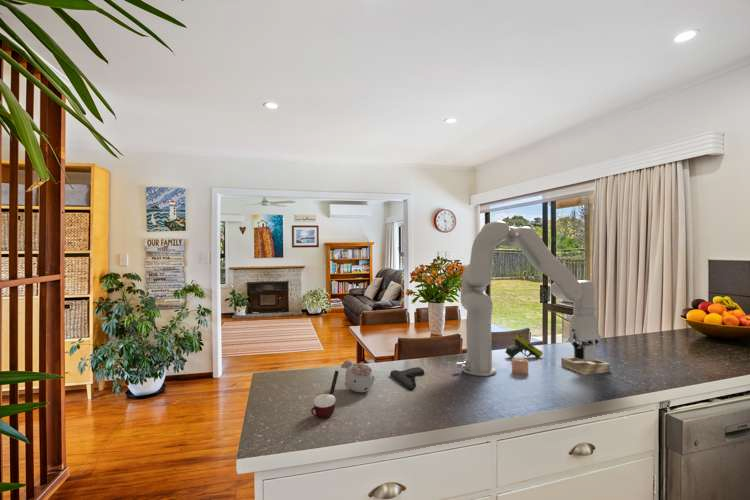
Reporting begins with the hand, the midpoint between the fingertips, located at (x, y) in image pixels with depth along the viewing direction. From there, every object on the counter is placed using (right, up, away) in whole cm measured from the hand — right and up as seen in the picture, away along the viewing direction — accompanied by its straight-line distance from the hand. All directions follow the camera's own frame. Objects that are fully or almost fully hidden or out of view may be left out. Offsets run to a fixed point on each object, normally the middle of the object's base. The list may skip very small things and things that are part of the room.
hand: (584, 357), depth 154 cm
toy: (-89, -7, -17) cm, 91 cm away
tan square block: (-27, -5, -3) cm, 28 cm away
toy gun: (-17, -5, +17) cm, 25 cm away
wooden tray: (0, -5, 0) cm, 5 cm away
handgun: (-69, -7, -9) cm, 70 cm away
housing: (0, -1, 0) cm, 1 cm away
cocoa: (-98, -7, -39) cm, 105 cm away
